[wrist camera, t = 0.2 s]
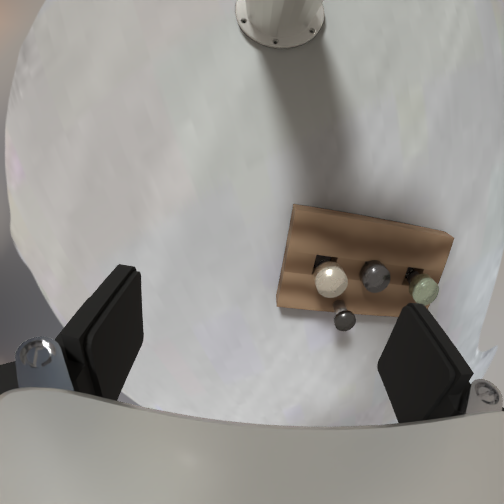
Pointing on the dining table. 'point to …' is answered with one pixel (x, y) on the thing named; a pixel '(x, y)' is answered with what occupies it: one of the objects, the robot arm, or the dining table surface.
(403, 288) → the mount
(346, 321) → the dial post
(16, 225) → the dining table surface
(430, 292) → the knob sage
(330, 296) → the knob cream
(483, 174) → the dining table surface
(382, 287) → the knob charcoal
